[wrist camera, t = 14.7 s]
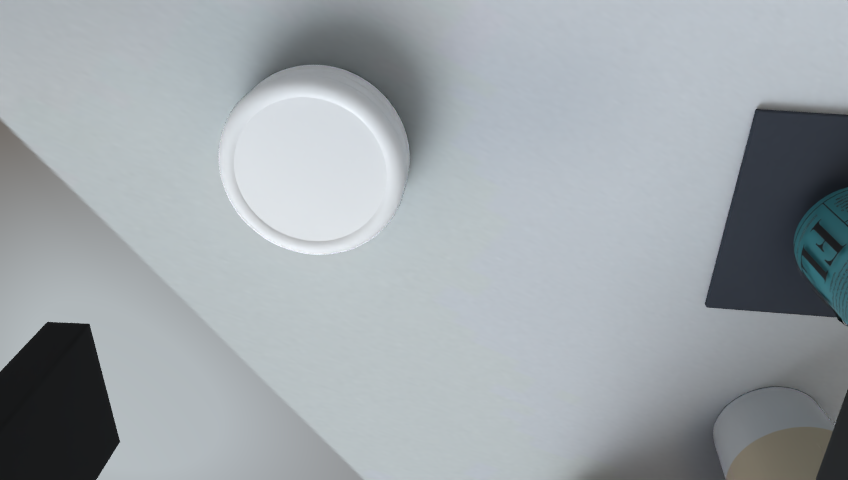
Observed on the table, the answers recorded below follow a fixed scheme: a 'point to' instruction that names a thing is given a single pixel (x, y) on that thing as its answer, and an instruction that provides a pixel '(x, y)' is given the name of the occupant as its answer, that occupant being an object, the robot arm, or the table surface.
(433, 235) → the table surface
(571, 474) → the table surface
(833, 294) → the beverage bottle
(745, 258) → the felt pad
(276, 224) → the white round disc
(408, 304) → the table surface
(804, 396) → the coffee cup
